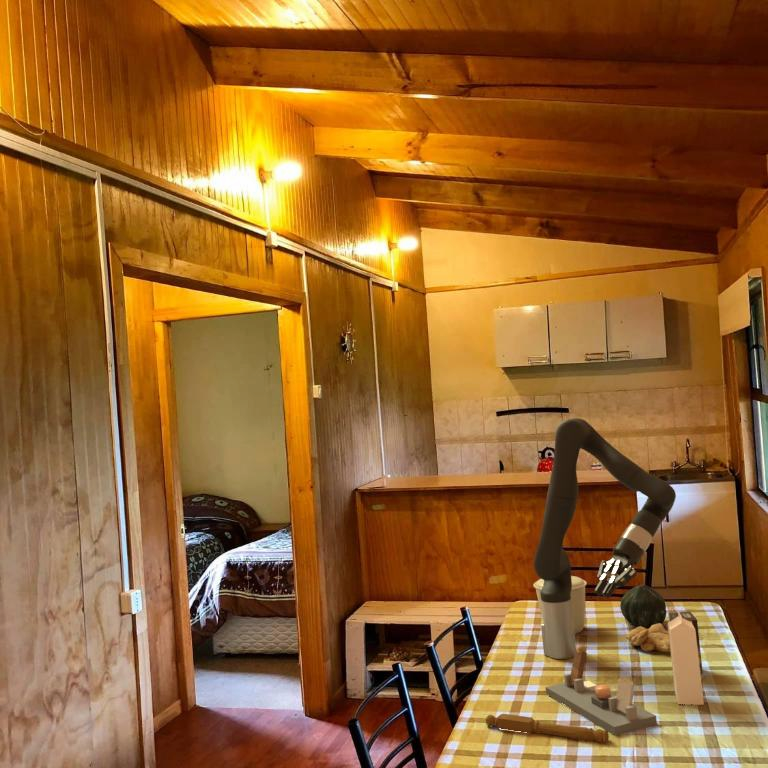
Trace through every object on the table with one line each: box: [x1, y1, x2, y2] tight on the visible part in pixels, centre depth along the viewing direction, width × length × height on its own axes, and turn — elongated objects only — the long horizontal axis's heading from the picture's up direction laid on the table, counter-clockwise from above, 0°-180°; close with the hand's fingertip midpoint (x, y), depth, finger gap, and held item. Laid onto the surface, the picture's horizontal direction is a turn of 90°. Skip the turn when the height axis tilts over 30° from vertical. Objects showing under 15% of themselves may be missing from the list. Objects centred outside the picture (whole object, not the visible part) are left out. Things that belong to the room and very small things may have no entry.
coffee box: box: [667, 611, 704, 680], centre depth 205 cm, size 9×6×16 cm
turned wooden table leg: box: [485, 713, 610, 744], centre depth 176 cm, size 3×3×30 cm
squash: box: [620, 584, 667, 629], centre depth 252 cm, size 14×15×15 cm
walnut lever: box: [569, 644, 587, 685], centre depth 198 cm, size 3×3×11 cm
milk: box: [667, 610, 704, 706], centre depth 187 cm, size 6×6×22 cm
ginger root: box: [624, 623, 671, 653], centre depth 229 cm, size 16×16×8 cm
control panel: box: [545, 672, 658, 737], centre depth 187 cm, size 12×30×5 cm, turn 20°
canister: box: [533, 575, 587, 635], centre depth 253 cm, size 18×18×21 cm
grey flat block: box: [615, 677, 635, 713], centre depth 178 cm, size 1×5×7 cm, turn 18°
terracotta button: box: [595, 684, 612, 698], centre depth 185 cm, size 4×4×2 cm
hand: (601, 595), depth 202 cm, fingers open, 3 cm apart
